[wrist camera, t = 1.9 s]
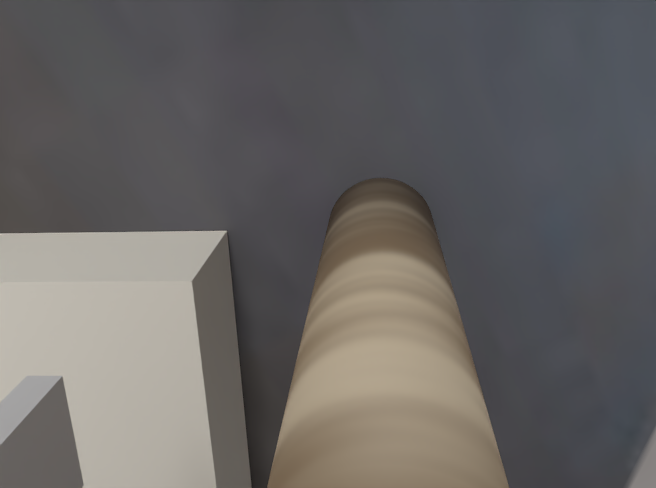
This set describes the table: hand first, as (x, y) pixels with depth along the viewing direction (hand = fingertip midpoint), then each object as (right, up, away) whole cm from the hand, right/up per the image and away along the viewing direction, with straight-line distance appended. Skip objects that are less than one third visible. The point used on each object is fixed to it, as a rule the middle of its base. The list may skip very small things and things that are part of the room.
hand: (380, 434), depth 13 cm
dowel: (+1, +4, +11) cm, 12 cm away
